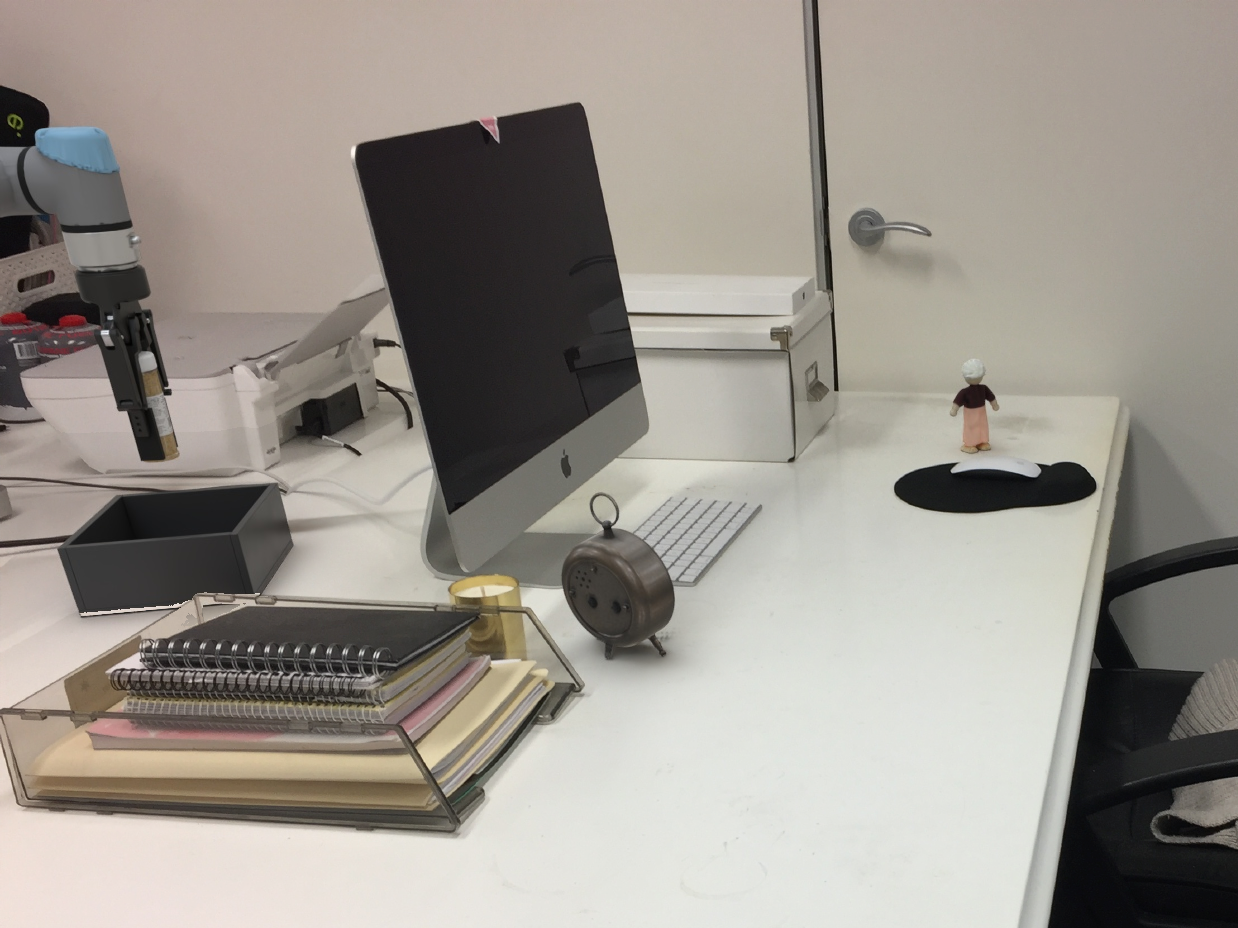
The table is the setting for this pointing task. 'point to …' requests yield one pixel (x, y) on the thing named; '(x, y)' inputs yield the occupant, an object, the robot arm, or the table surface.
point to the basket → (177, 547)
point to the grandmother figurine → (974, 407)
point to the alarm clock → (618, 586)
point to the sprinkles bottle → (157, 405)
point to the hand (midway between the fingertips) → (159, 453)
